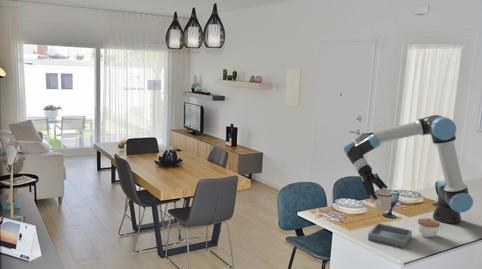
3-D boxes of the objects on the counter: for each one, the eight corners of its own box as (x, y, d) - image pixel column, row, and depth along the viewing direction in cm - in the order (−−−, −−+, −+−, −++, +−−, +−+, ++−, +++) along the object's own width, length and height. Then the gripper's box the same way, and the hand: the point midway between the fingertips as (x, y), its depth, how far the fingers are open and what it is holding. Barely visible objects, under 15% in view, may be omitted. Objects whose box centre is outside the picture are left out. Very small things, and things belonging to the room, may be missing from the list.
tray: (411, 236, 220) (411, 230, 220) (404, 248, 205) (405, 241, 205) (376, 228, 230) (377, 222, 229) (367, 239, 214) (368, 233, 214)
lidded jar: (428, 240, 216) (430, 223, 214) (412, 233, 225) (413, 216, 224) (442, 237, 220) (444, 220, 219) (426, 230, 230) (427, 214, 228)
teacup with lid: (394, 209, 225) (396, 188, 223) (384, 212, 219) (387, 191, 217) (375, 203, 234) (377, 183, 232) (365, 206, 228) (367, 185, 226)
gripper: (369, 168, 242) (391, 202, 233) (346, 173, 228) (369, 210, 219) (378, 161, 237) (401, 195, 228) (355, 166, 223) (379, 203, 214)
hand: (385, 202), depth 223 cm, fingers closed on teacup with lid, 9 cm apart
